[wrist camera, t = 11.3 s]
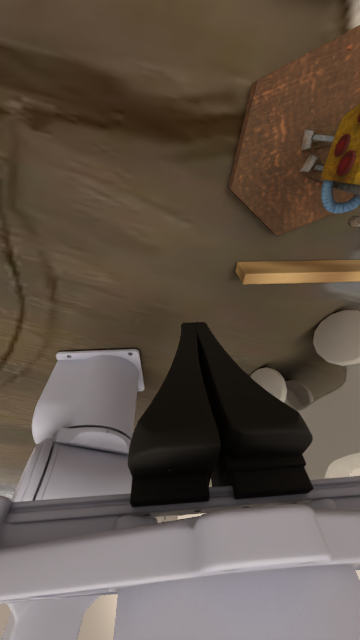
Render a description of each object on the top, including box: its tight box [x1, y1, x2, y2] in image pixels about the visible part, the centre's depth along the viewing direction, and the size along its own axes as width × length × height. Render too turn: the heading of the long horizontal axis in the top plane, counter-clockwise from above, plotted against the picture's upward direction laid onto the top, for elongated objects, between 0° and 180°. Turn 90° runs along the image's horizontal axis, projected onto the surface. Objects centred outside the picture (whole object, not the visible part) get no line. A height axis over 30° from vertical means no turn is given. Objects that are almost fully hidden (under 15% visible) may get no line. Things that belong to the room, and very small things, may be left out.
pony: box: [250, 310, 360, 480], centre depth 23 cm, size 20×10×17 cm, turn 145°
